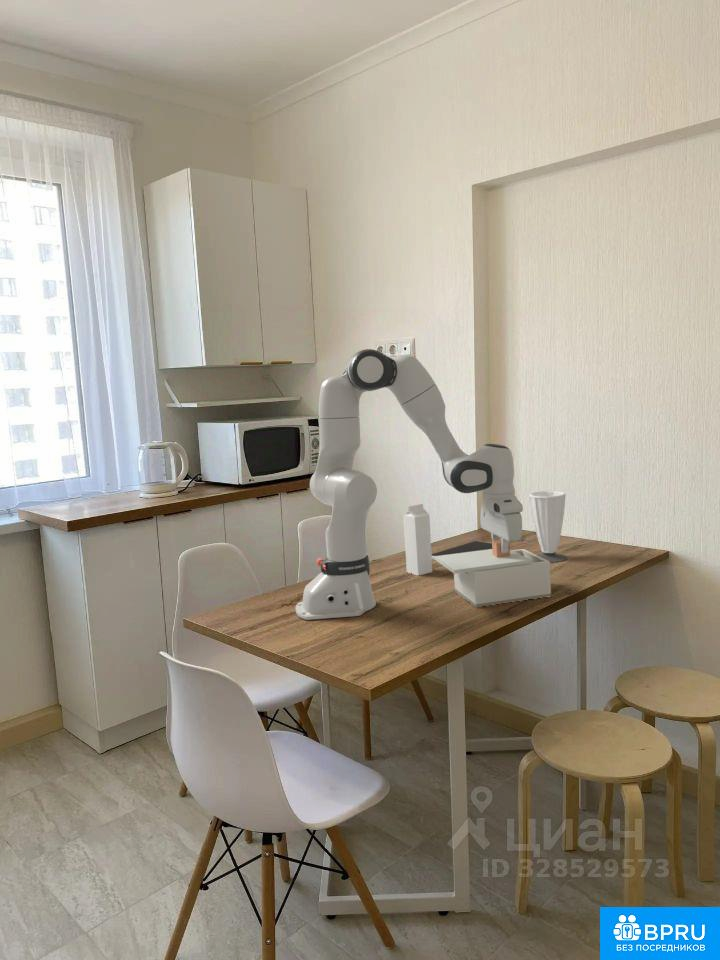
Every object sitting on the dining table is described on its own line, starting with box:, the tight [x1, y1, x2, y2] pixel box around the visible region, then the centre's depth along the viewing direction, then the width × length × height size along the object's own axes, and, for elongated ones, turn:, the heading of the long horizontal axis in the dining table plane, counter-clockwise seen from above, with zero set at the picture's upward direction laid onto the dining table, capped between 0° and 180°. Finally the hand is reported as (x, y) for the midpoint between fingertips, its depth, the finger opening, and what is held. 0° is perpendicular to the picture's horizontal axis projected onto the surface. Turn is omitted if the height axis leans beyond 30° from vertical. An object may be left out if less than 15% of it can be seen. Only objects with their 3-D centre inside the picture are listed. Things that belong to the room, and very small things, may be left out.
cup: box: [529, 490, 568, 564], centre depth 234 cm, size 12×12×22 cm
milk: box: [402, 503, 433, 577], centre depth 228 cm, size 6×6×22 cm
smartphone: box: [432, 540, 492, 561], centre depth 249 cm, size 13×27×2 cm, turn 132°
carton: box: [453, 548, 552, 608], centre depth 200 cm, size 22×16×10 cm
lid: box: [434, 539, 531, 575], centre depth 198 cm, size 22×16×5 cm
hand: (500, 550), depth 199 cm, fingers closed on lid, 3 cm apart
